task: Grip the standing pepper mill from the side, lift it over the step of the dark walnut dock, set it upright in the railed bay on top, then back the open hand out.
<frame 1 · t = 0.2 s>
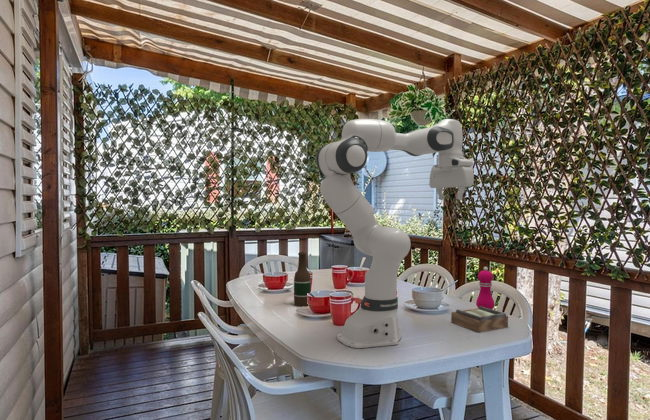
hand: (450, 199, 166), 48 cm above the table, fingers open, 8 cm apart
dock: (479, 324, 169), on the table
beer bottle: (302, 305, 200), on the table
pepper mill: (485, 315, 183), on the table
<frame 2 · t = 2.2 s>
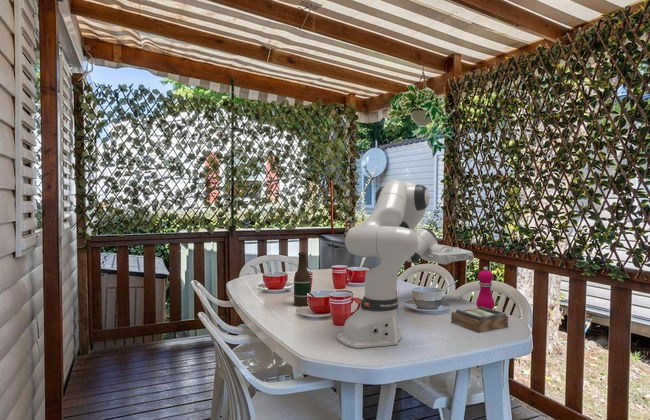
hand: (464, 258, 193), 22 cm above the table, fingers open, 8 cm apart
nothing on the table moved.
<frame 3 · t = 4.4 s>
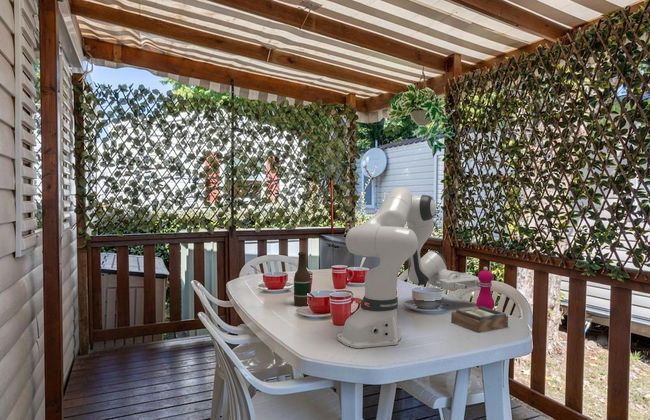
hand: (473, 286, 188), 11 cm above the table, fingers open, 8 cm apart
nothing on the table moved.
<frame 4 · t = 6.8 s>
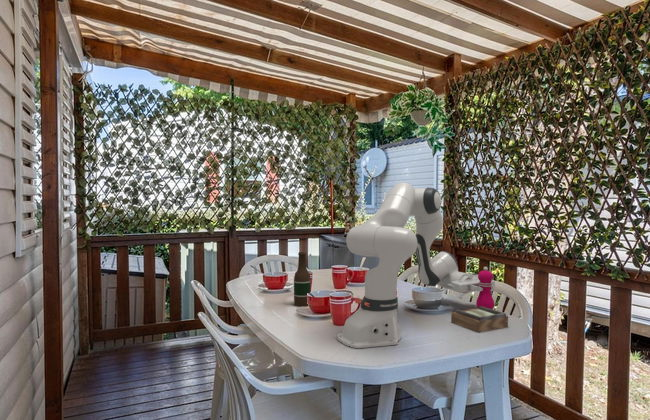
hand: (487, 288, 182), 11 cm above the table, fingers closed on pepper mill, 5 cm apart
pepper mill: (485, 315, 183), on the table, touching gripper
everything else where it was.
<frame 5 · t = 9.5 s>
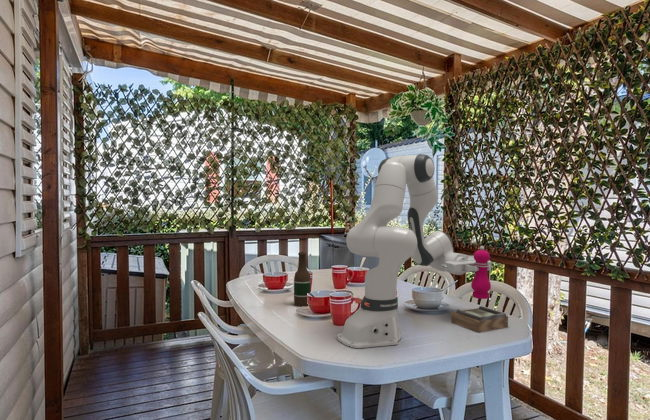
hand: (483, 268, 170), 21 cm above the table, fingers closed on pepper mill, 5 cm apart
pepper mill: (480, 297, 171), point 10 cm above the table, touching gripper
everything else where it was.
when the fingers open (16 cm above the table, at t = 12.1 s): pepper mill moves 3 cm, resting on dock.
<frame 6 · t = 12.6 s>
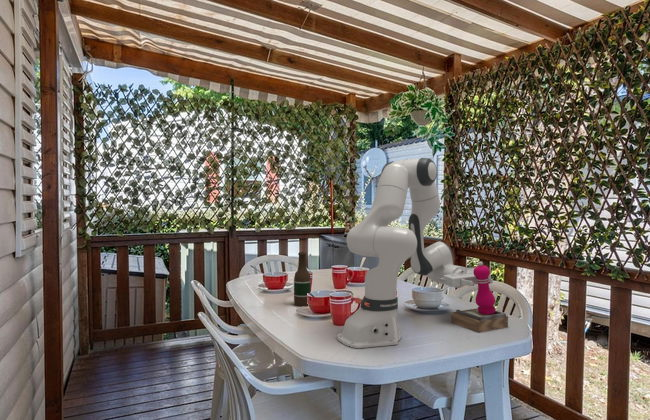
hand: (482, 282, 167), 16 cm above the table, fingers open, 8 cm apart
pepper mill: (486, 312, 170), point 5 cm above the table, touching dock
everything else where it was.
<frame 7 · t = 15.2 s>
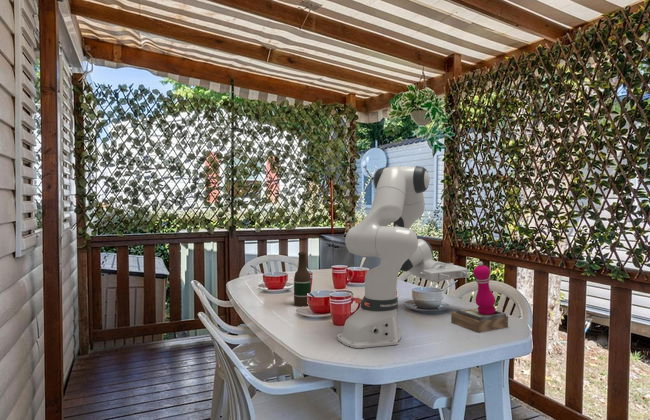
hand: (458, 276, 179), 17 cm above the table, fingers open, 8 cm apart
nothing on the table moved.
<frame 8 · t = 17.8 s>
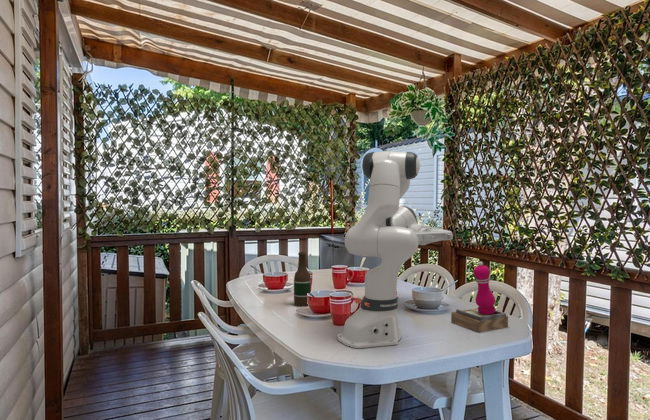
hand: (442, 237, 184), 32 cm above the table, fingers open, 8 cm apart
nothing on the table moved.
at the end: pepper mill inside the target area on the dock (3.3 cm from its centre), point 4.6 cm above the dock's base; pepper mill tilted 11°; the gripper is holding nothing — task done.
